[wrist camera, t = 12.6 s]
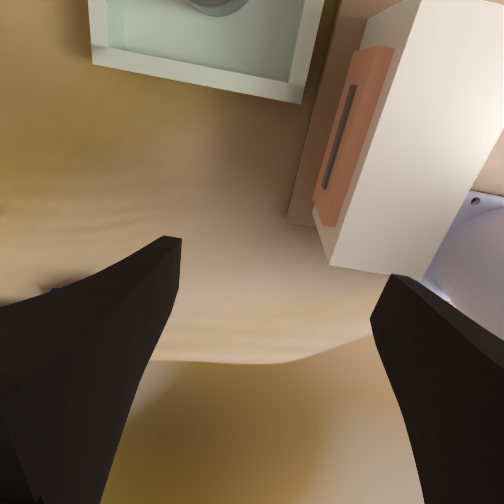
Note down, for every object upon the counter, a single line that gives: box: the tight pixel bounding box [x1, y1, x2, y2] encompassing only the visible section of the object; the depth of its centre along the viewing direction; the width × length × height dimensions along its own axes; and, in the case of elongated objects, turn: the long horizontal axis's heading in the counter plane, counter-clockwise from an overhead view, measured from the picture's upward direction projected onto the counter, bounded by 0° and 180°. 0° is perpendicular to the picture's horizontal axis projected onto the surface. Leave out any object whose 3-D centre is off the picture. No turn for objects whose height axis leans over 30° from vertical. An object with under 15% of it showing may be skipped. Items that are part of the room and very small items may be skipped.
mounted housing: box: [286, 0, 504, 281], centre depth 15 cm, size 6×12×7 cm, turn 170°
